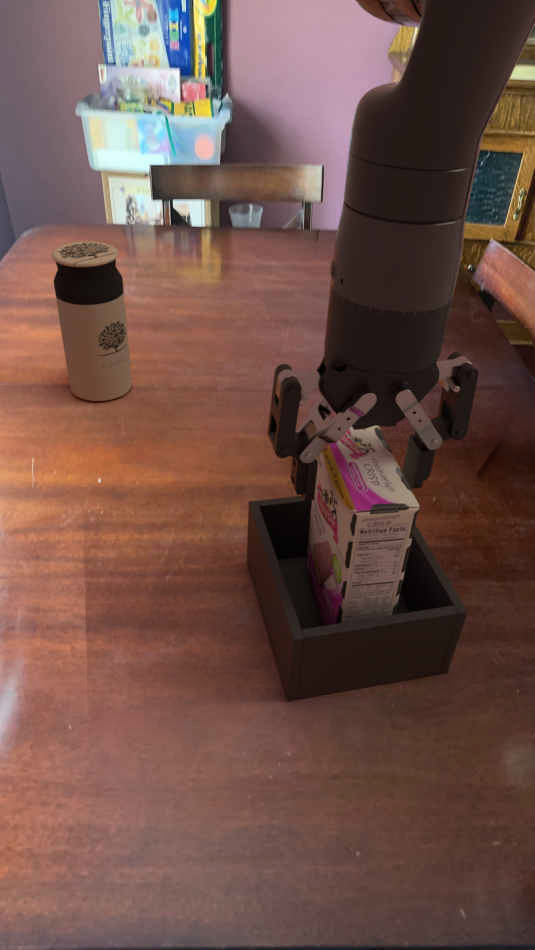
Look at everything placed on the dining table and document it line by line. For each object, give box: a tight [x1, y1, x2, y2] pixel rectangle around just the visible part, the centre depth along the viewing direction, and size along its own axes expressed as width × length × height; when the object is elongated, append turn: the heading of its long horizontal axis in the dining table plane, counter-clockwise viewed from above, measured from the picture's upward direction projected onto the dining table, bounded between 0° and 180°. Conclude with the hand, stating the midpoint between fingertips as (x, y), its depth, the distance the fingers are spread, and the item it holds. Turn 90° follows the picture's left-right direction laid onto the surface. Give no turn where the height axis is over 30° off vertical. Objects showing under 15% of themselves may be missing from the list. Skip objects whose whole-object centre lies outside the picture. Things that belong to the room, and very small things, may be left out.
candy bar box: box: [306, 426, 421, 626], centre depth 55 cm, size 11×5×16 cm, turn 10°
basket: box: [246, 495, 469, 702], centre depth 58 cm, size 14×16×8 cm
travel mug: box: [51, 240, 133, 402], centre depth 83 cm, size 8×8×18 cm
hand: (359, 488), depth 51 cm, fingers open, 8 cm apart
